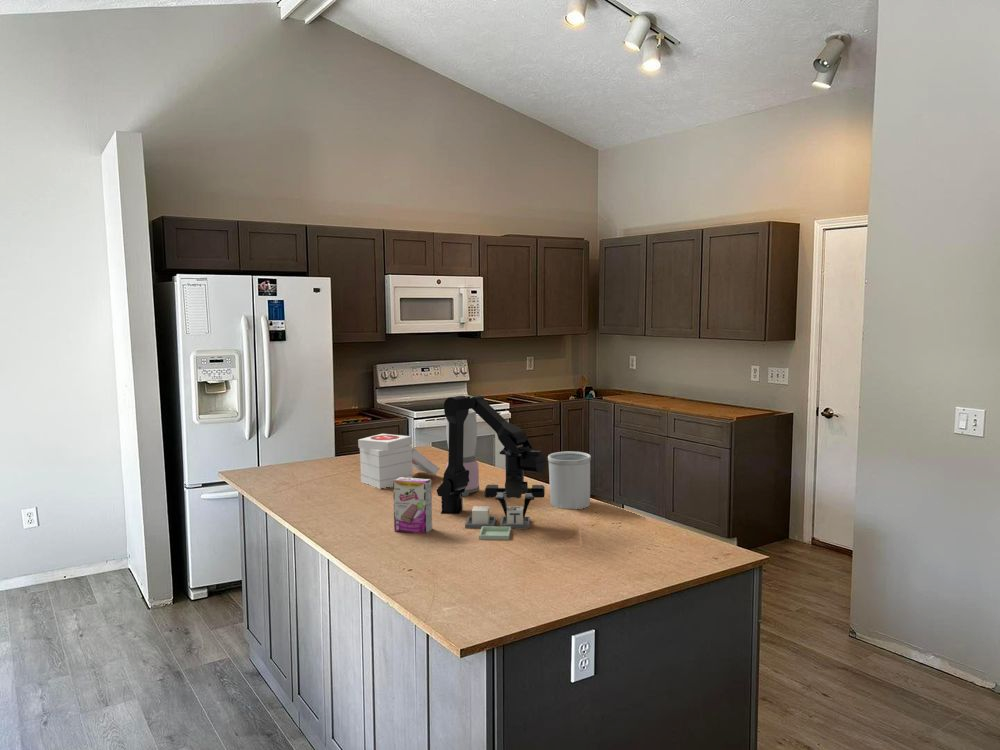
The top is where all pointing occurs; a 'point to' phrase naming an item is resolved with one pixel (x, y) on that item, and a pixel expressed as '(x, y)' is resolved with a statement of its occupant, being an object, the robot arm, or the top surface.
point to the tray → (494, 533)
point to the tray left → (469, 524)
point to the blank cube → (480, 515)
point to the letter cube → (515, 515)
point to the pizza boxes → (390, 459)
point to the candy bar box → (412, 505)
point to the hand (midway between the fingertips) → (515, 517)
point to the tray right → (515, 526)
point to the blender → (469, 451)
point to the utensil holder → (569, 479)
